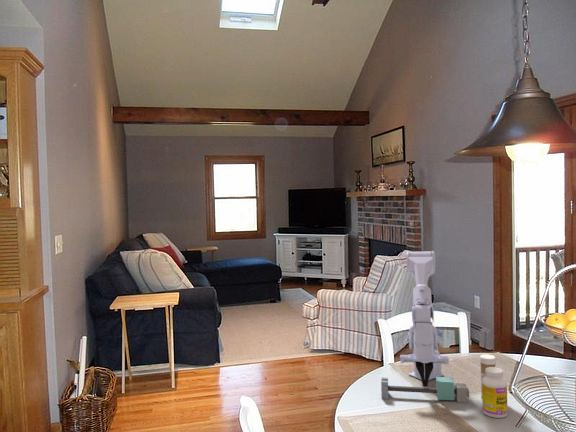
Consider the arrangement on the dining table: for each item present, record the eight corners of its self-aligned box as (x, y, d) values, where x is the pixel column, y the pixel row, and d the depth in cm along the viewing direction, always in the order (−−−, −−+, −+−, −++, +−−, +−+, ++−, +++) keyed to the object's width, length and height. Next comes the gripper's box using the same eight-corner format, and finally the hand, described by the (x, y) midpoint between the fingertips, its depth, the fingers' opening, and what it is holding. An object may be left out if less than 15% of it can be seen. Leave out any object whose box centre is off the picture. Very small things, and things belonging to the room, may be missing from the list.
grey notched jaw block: (381, 398, 149) (381, 382, 149) (382, 392, 154) (381, 376, 154) (388, 399, 149) (387, 382, 149) (388, 392, 154) (387, 376, 153)
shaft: (386, 391, 151) (386, 386, 150) (386, 389, 152) (386, 385, 152) (462, 395, 145) (462, 390, 145) (462, 393, 147) (461, 388, 147)
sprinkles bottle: (500, 400, 145) (499, 356, 144) (490, 403, 143) (488, 359, 142) (487, 394, 149) (486, 352, 148) (477, 398, 147) (476, 355, 146)
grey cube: (457, 402, 145) (456, 387, 144) (456, 397, 148) (455, 383, 148) (469, 402, 144) (469, 388, 144) (467, 397, 147) (467, 383, 147)
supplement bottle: (497, 421, 132) (495, 375, 131) (477, 412, 138) (476, 368, 137) (513, 415, 135) (511, 370, 134) (493, 406, 141) (492, 364, 140)
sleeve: (437, 399, 146) (436, 381, 146) (436, 394, 150) (435, 376, 149) (454, 400, 145) (453, 382, 144) (453, 394, 148) (452, 377, 148)
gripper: (399, 346, 146) (401, 389, 146) (449, 347, 142) (450, 391, 143) (399, 339, 153) (401, 380, 153) (446, 340, 149) (448, 382, 150)
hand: (425, 385), depth 148 cm, fingers closed
